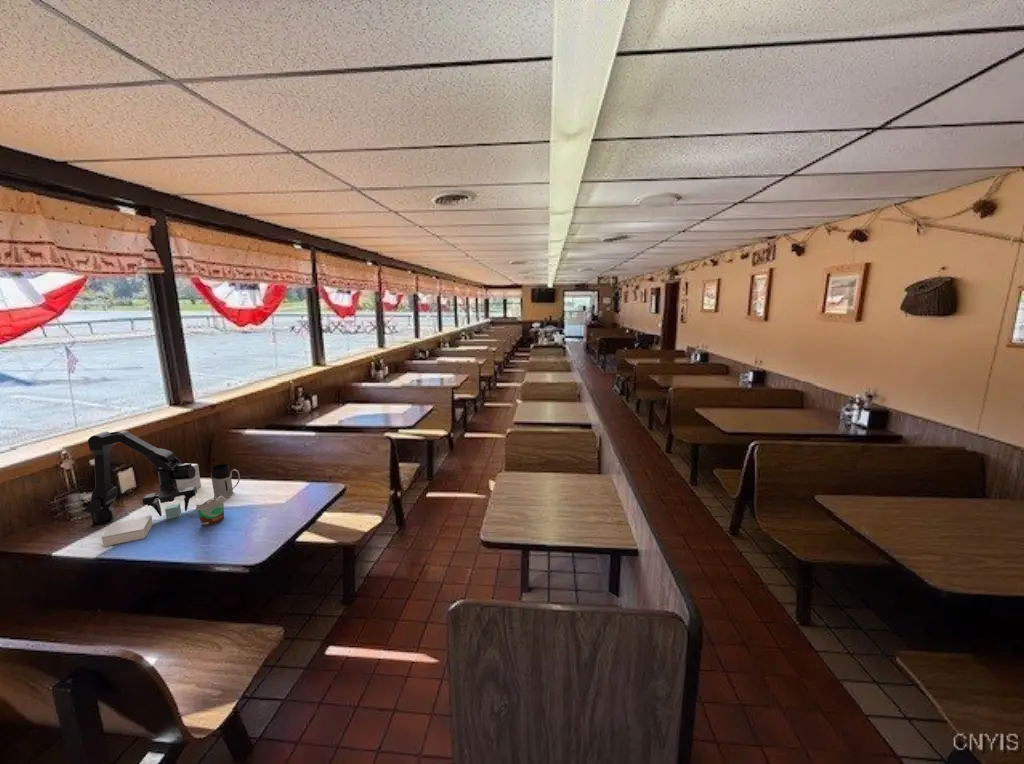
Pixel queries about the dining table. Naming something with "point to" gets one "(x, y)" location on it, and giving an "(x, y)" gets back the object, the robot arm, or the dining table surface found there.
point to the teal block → (173, 510)
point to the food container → (211, 511)
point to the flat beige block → (127, 530)
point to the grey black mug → (222, 480)
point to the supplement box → (190, 480)
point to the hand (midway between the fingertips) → (173, 513)
